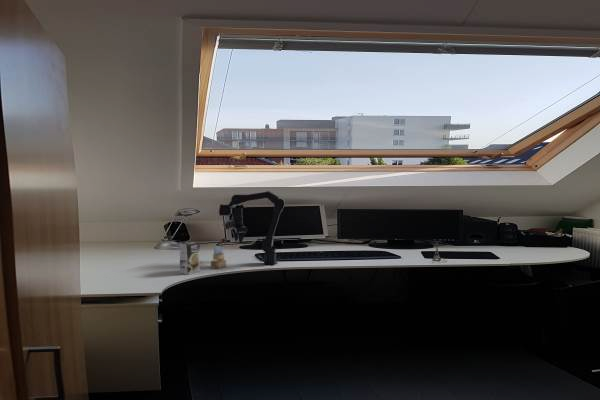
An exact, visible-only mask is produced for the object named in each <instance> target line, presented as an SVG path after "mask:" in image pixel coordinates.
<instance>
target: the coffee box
mask: <svg viewBox="0 0 600 400" xmlns="http://www.w3.org/2000/svg"><path fill="white" fill-rule="evenodd" d="M200 243H201V242H200V241H192V240H191V241H187V242H186V241H185V242H181V243H179V274H184V275H192V274H194V273H198V272H200V270H201V268H200V267H201V265H200V264H201V261H200V260H201V258H200V256H201V254H200V253H201V249H200V247H201V245H200Z"/></svg>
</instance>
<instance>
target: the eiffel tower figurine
mask: <svg viewBox="0 0 600 400" xmlns="http://www.w3.org/2000/svg"><path fill="white" fill-rule="evenodd" d="M438 243H439V242H438V241H436V247H435V248H436V249H435V253H434V256H433V258H432V259H431V262H430V264H435V262H436V263H437V264H439V263H448V262H449V260H447V259H446V258H441V257H440V255H439V251H438V250H439V249H438V248H439V247H438Z"/></svg>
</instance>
